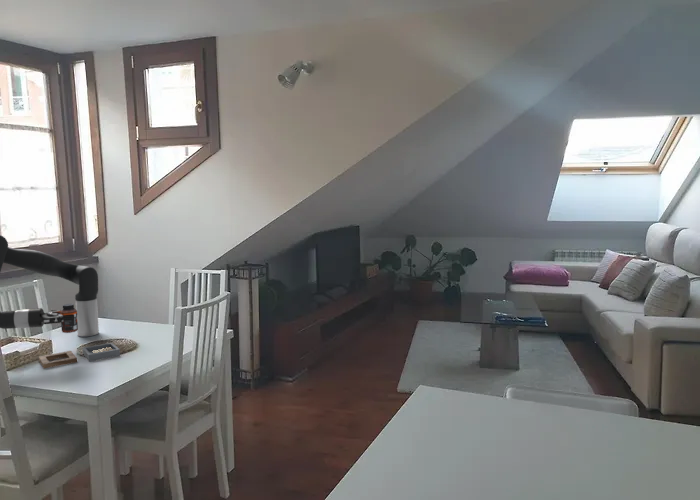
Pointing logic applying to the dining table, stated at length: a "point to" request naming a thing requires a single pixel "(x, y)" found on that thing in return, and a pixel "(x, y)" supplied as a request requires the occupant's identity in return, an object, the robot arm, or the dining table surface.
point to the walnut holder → (47, 364)
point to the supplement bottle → (69, 324)
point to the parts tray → (100, 355)
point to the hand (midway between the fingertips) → (75, 315)
